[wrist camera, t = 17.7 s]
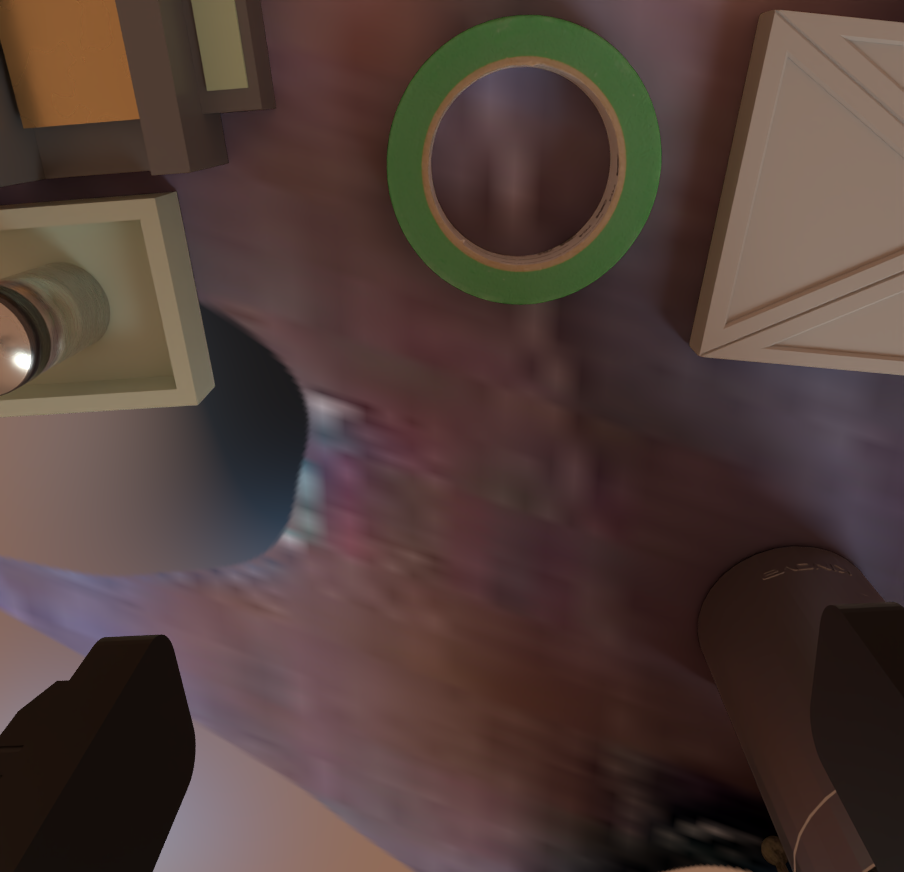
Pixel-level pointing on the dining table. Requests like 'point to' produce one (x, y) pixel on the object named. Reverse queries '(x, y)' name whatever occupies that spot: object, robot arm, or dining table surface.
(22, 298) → the cell
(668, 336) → the dining table surface
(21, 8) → the pad
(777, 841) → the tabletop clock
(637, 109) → the tape roll
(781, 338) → the envelope
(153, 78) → the cradle
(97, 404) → the trough
